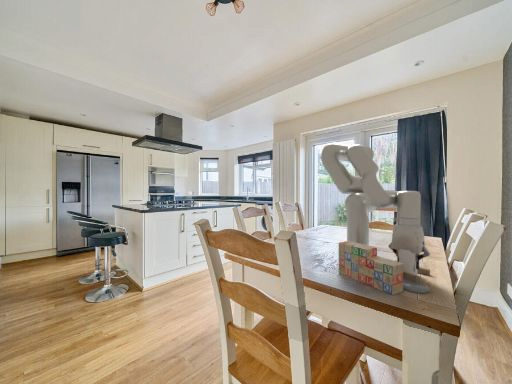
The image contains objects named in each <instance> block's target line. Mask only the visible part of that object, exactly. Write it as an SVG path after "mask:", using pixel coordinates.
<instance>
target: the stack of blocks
mask: <svg viewBox="0 0 512 384" xmlns="http://www.w3.org/2000/svg"><path fill="white" fill-rule="evenodd" d="M403 268H404V264H403V263H400V262H397V260H393V259H390V258H386V257H382V256H378V248H377V247H376V246H372V245H369V246H368V245H364V244H360V243H355V242H352V241H347V240H344V241H340V242H338V273H340V274H342V275H344V276H346V277H348V278H351V279H353V280H355V281H358V282H360V283H363V284H366V285H368V286H370V287H372V288H375V289H377V290H379V291H382V292H383V293H386V294H389V295H391V296H393V295H396V294H399V293H401V292H403V291H404V289H403Z"/></svg>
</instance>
